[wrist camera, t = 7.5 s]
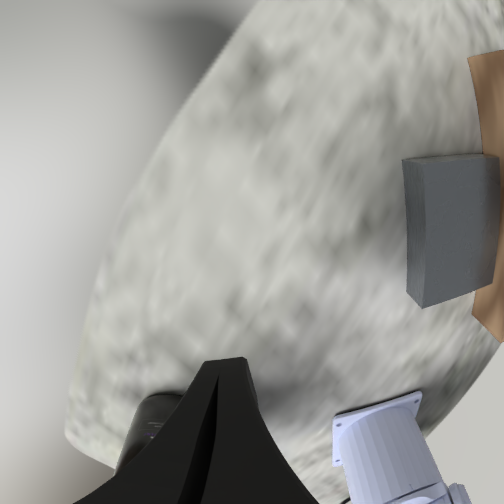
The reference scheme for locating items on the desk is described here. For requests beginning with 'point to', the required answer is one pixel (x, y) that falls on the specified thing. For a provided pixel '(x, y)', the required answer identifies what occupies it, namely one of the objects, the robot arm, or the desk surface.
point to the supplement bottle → (146, 425)
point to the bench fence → (500, 145)
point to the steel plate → (451, 225)
